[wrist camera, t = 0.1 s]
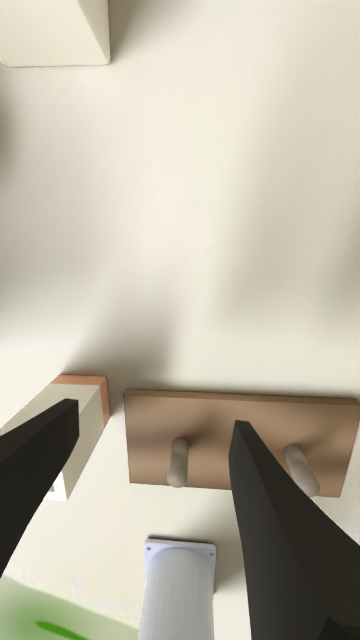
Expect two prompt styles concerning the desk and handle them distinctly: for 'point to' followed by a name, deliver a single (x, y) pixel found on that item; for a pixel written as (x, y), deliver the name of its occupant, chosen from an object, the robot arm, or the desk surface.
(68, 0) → the medicine bottle
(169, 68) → the desk surface
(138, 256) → the desk surface
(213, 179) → the desk surface
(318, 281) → the desk surface
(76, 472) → the sleeve
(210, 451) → the pin board
